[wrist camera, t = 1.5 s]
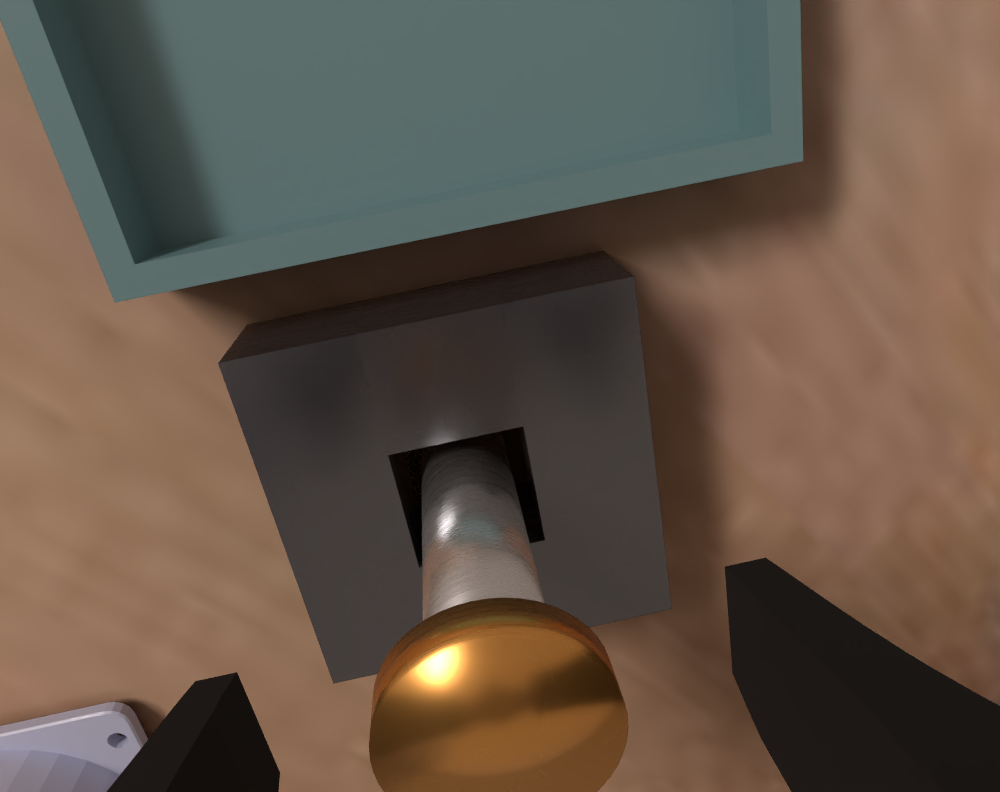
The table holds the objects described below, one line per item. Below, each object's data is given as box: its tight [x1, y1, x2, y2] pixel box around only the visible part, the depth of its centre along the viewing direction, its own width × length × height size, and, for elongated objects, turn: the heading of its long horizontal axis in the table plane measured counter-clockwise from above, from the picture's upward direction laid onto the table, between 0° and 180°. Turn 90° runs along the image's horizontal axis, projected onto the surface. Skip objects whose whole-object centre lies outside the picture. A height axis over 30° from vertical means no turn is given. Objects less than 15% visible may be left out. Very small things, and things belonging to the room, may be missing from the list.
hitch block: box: [218, 251, 672, 683], centre depth 16 cm, size 8×8×2 cm
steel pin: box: [369, 431, 628, 792], centre depth 14 cm, size 3×3×9 cm
